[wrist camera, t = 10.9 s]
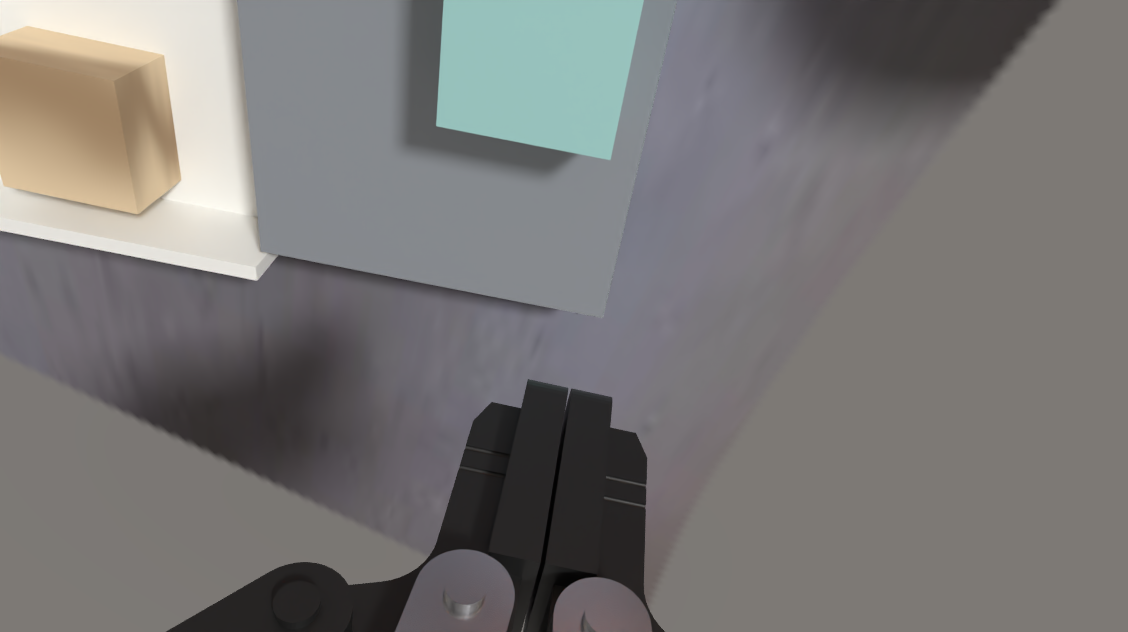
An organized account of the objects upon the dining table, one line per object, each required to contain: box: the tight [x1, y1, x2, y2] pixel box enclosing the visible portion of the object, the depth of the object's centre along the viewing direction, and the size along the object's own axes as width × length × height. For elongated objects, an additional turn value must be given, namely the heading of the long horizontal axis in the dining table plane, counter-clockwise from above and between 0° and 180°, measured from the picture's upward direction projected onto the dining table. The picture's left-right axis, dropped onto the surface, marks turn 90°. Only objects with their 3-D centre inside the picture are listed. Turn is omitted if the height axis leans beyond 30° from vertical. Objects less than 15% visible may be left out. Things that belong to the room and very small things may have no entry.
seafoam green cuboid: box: [436, 0, 644, 160], centre depth 21 cm, size 5×5×3 cm
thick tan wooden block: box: [0, 26, 181, 214], centre depth 27 cm, size 5×5×3 cm
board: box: [237, 0, 677, 318], centre depth 25 cm, size 13×13×4 cm
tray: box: [0, 0, 278, 281], centre depth 25 cm, size 15×12×4 cm
